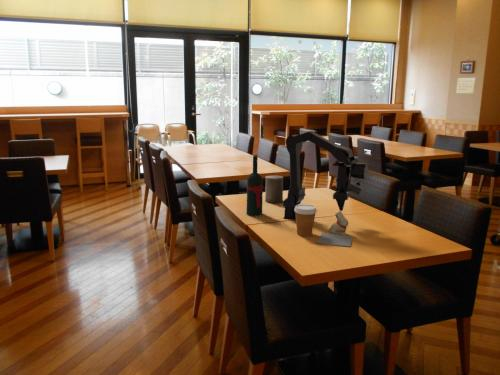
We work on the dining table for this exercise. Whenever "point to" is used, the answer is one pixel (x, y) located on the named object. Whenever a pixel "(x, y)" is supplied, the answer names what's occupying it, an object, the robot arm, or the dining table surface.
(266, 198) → the pillar candle
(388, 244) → the dining table surface
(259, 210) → the wine bottle
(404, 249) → the dining table surface
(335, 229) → the chocolate bunny
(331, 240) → the mat
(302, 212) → the disposable coffee cup
